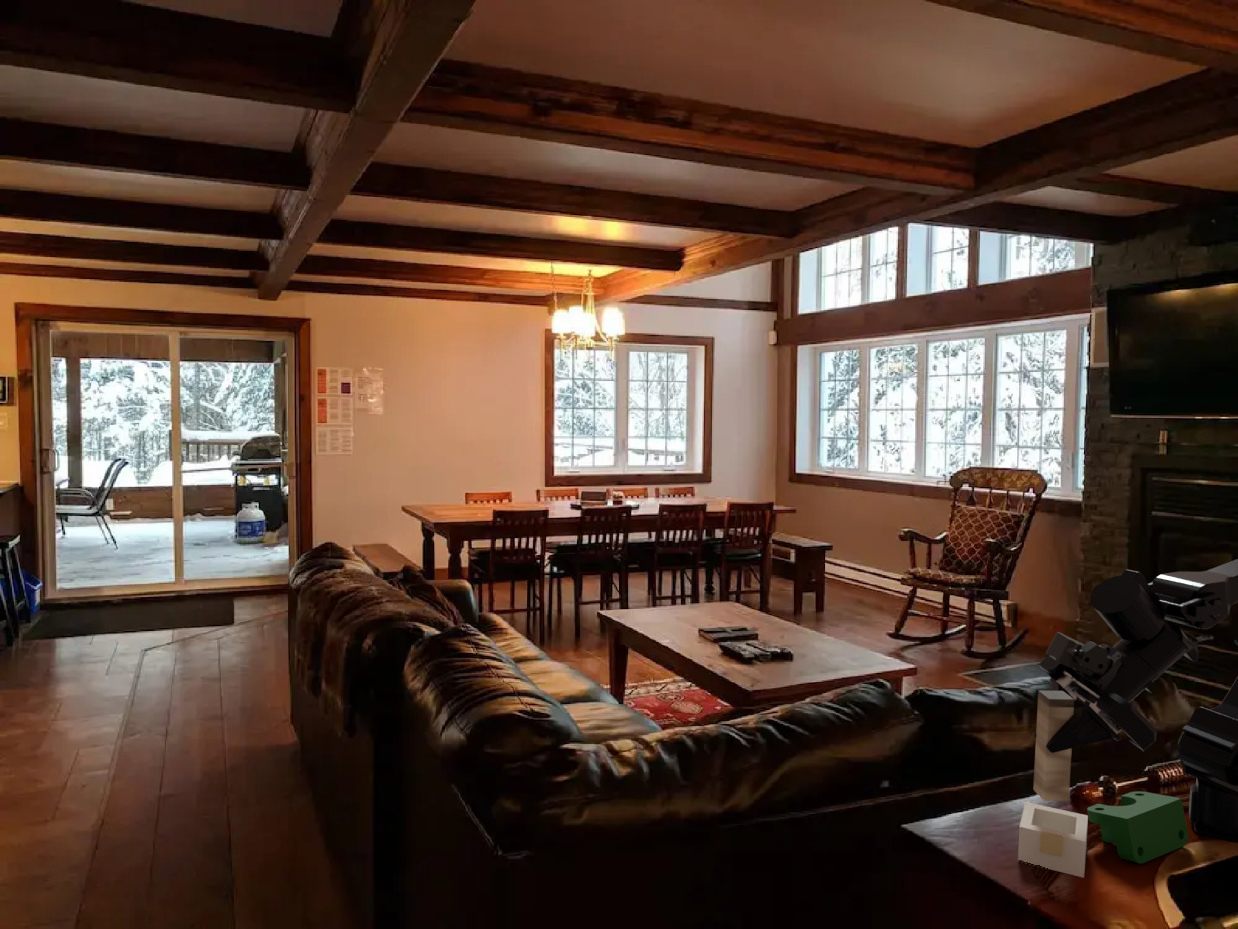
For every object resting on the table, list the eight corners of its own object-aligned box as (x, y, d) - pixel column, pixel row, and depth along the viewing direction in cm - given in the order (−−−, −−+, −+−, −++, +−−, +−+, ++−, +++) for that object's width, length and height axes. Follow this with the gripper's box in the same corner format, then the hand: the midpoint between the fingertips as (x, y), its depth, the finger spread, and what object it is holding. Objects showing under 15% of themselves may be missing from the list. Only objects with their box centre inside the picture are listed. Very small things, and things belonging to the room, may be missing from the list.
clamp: (1139, 864, 115) (1144, 793, 117) (1186, 876, 109) (1190, 801, 112) (1079, 848, 110) (1085, 774, 113) (1124, 859, 105) (1129, 781, 108)
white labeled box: (1086, 849, 110) (1088, 814, 110) (1083, 880, 103) (1085, 843, 103) (1023, 834, 114) (1025, 801, 113) (1017, 863, 107) (1018, 828, 106)
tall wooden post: (1057, 790, 111) (1062, 690, 109) (1068, 801, 108) (1074, 699, 106) (1033, 789, 111) (1038, 690, 110) (1044, 800, 108) (1049, 699, 107)
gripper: (1057, 595, 116) (970, 674, 118) (1135, 635, 98) (1031, 729, 99) (1113, 653, 117) (1026, 731, 118) (1202, 704, 98) (1097, 796, 99)
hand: (1042, 744), depth 109 cm, fingers closed on tall wooden post, 3 cm apart
